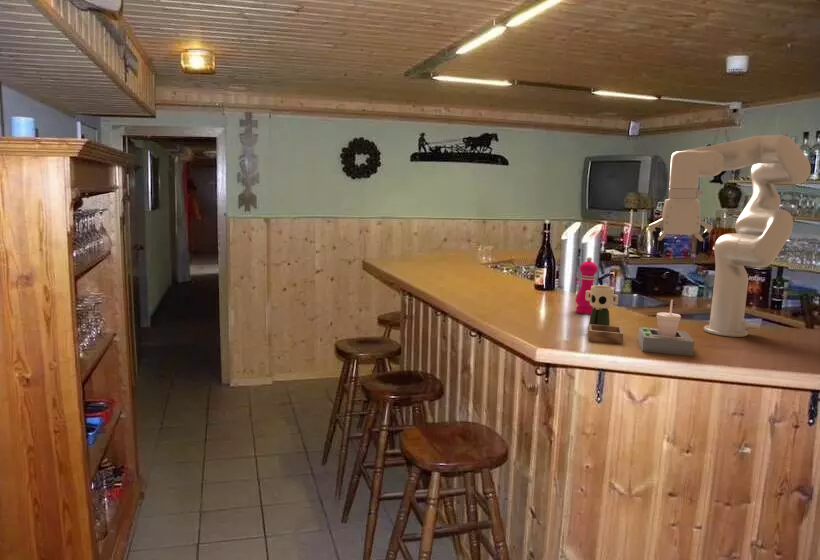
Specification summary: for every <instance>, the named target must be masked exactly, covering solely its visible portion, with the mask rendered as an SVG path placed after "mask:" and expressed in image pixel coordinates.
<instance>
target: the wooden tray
mask: <svg viewBox="0 0 820 560" xmlns="http://www.w3.org/2000/svg"><path fill="white" fill-rule="evenodd" d="M587 328H588V329H587V330H588V331H587V337H588V341H589V342H600V343H611V344H621V345H622V344H623V342H624V332H623V328H622V326H616V325H615V326H614V325H609V326H606V325H595V324H589V323H588V327H587Z"/></svg>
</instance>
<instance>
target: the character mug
mask: <svg viewBox="0 0 820 560" xmlns="http://www.w3.org/2000/svg"><path fill="white" fill-rule="evenodd" d="M589 294H590V298H588V295H589ZM614 298H615V299H614ZM585 299H586V300H587V301H590V305H591V306H593V310H592V313H591V314H590V318H589V322H588V325H589V324H595V325H606V326H611V325H610V321H611V319H610V311H609V309H610V308H612V307H613V305H614V306H617V305H618V304H619V294H616V293H615V287H612V286H608V285H600V284H599V285H593V286H591V291H586V296H585Z"/></svg>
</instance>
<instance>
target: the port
mask: <svg viewBox="0 0 820 560" xmlns="http://www.w3.org/2000/svg"><path fill="white" fill-rule="evenodd" d="M637 335H638V336H637V341H638V345H639V346H640V349H641V351H642V352H645V353H646V352H648V353H655V354H657V353H658V354H667V355H676V356H677V355H678V356H687V357H688V356H689V357H693V356H694V350H695V341H694V339H693V338H692V337H691V335H690V334H689V332H688V331H687V330H686V331H685V330H677V332H676V336H675V337H672V336H661V335H658V328H655V327H654V328H653V327H652V328H651V327H643V326H642V327H641V326H640V327H638V334H637Z"/></svg>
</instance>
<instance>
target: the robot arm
mask: <svg viewBox="0 0 820 560" xmlns="http://www.w3.org/2000/svg"><path fill="white" fill-rule="evenodd" d="M749 166H751V169H750V177H751V185H752V194H751V197H750V198H749V201H748V202H747V203H746V205H745V207H744V208H743V210H742V211H741V213H740V214H739V216H738V217H737V219H736V221H735V225H734V230H735V232H736V233H735V232H734V233H733V232H732V233H725V234H722V235H720V236H719V237H718V238H717V239H716V241H715V243H714V249H713V250H714V251H713V252H714V260H715V264H714V265H715V268H714V270H715V272H714V282H713V288H712V290H713V291H712V299H711V307H710V317H709V324H706V325H704V326H703V330H704V332H707V333H708V334H711V335H716V336H724V337H733V338H736V337H737V338H739V337H740V338H741V337H743V338H744V337H746V336H748V334H749V333H748V331H749V330H753V331H754V330H755V331H760V329H761V324H760V323H754V322H747V321H746V320H745V311H746V305H747V295H748V287H749V286H748V285H749V275H748V272H747V270H746V268H745V267H752V268H761V269H762V268H767V267H769V266H770V265H771V264H772V263H774V261H775V260H776V259H777V256H778V255H779V253H780V252H781V251H782V249H783V247H784V246H785V244H786V242H787V241H788V240H789V238H790V237H791V234H792V231H793V228H794V227H793V226H794V219H793V216H792V215H791V213H790V212H789V211H787V210H784V209H780V205H781V197H780V194H779V192H778V191H777V189H776V187H775V185H777V184H778V185H799V184H800V185H801V184H803V183H804V182H806V181H807V180H808V179H809V178H810V175H811V170H812V168H811V162H810V161H809V159H808V157H807V155H806V154H805V153H804V151H802V149H801V148H800V147H799V145H798V144H797V143H796V142H795V141H794V140H793V139H792V138H791V137H789V136H788V135H785V134H770V135H769V134H767V135H766V134H765V135H754V136H750V137H745V138H741V139H738V140H733V141H727V142H722V143H716V144H711V145H705V146H701V147H695V148H690V149H686V150H681V151H679V150H677V151H675V152H673V153H672V154H671V158H670V170H669V171H670V172H669V182H668V183H669V185H668V198H667V199H664V203H663V207H662V213H661V218H660V219H658V220H656V221H654V222H652V223H650V224H649V225H648V229H649V230H650V232H651V234H652V236H654V237H655V238H656V240H657V245H656V251H658V254H660V255H663V254H664V248H665V246H664V245H665V241H664V238H665V237H666V236H667V235H687V236H688V235H689V236H690V235H691V236H692V235H693V236H694V238H695V240H694V247H693V254H694V255H696V256H699V254H700V253H701V252H702V242H703V241H704V240H705V239H706V238H707V237H708V236H709V235H710V233H711V231H712V230H713V229H714V226H713V225H711V224H709V223H707V222H706V221H704V220H702V219H701V206H700V205H701V204H700V200H699V199H698V197H701V196H703V193H704V191H703V190H699V188H698V187H699V185H698V184H699V178H712V177H715V176H718V175H720V174H721V173H722V172H727V171H735V170H739V169H742V168H746V167H749ZM658 226H660V233H659V232H657V230H656V227H658ZM701 226H702V227H704V228H705V230H704V231H703V232H702V233H701V234H700V232H701Z"/></svg>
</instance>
